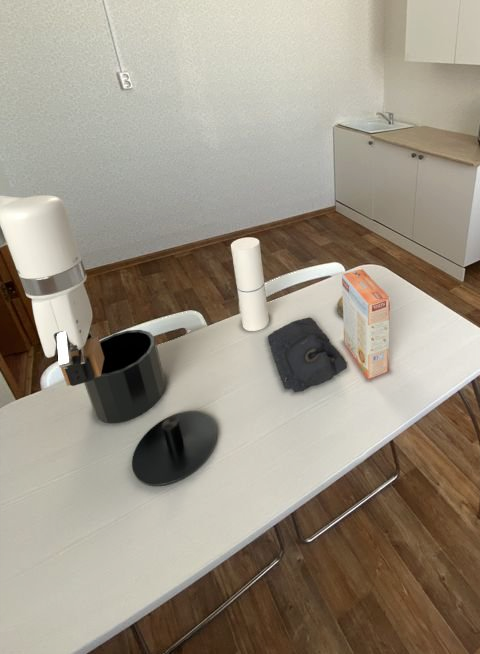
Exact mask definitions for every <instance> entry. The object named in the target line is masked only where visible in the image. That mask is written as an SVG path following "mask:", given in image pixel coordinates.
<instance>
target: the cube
mask: <svg viewBox="0 0 480 654" xmlns="http://www.w3.org/2000/svg"><path fill="white" fill-rule="evenodd" d="M99 339H100V338H99V336H95V337H91V339H87V340H86V343H85V345H84V346H83V347H84V352H85V356H86V359H88V358H89V360H90V363H91V366H92V369H93V373H94V378H96V377H99V376H101V372H102V367H103V362H104V355H103V352H102V348H101V345H100V342H99V341H100V340H99ZM72 345H73V344H70V346H72ZM76 355H77V356H79V354H78V350H76V351H72V352H71V356H76ZM60 370H61V372H62V375H63V378H64V381H65V383H66V386H71V385H70V382H69V379H68V377H67V374H66V371H65V369H64V368H63V367H61V368H60Z"/></svg>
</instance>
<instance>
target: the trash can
mask: <svg viewBox="0 0 480 654" xmlns="http://www.w3.org/2000/svg"><path fill="white" fill-rule="evenodd" d="M99 342H100V345H101V348H102V352H103V355H104V362H103V367H102V372H101V376H99V377H96V378H94V379H93V380H92V381H88V382H85V383H83V385H84V386H85V387H84V388H85V390H86V393H87V395H88V398H89V402H90V404H91V407H92V410H93V412H94V414H95V416H96V418H97V420H99V421H101V422H102V423H106V424H120V423H121V424H122V423H125V422H128V421H131V420H134V419H136V418H138V417H140V416H142V415H144V414H145V413H147V412H148V411H150V410H151V409H152V408H153V407H154V406H156V404H157V403H158V402H159V401H160V400H161V398H162V397H163V395H164V393H165V390H166V378H165V374H164V370H163V366H162V362H161V358H160V354H159V350H158V346H157V341H156V337H155V336H154V334H152V333H151V332H150V331H147V330H144V329H127V330H124V331H121V332H117V333H113V334H111V335H110V336H107V337H104V338H103V339H101V340H99Z"/></svg>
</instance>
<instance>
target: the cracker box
mask: <svg viewBox="0 0 480 654" xmlns="http://www.w3.org/2000/svg"><path fill="white" fill-rule="evenodd" d="M341 280H342V281H341V283H342V287H341V288H342V296H343V317H342V319H343V343H344V345H345V347H346V348H347V350H348V352H349V353H350V354H351V356H352V358H353V359H354V361H355V362H356V364H357V365H358V367H359V368H360V370H361V371H362V373H363V375H364V377H365V379H367V380H371V379H373V378H376V377H379V376H381V375H384V374H386V373H389V361H390V360H389V358H390V357H389V356H390V355H389V353H390V316H391V315H390V314H391V313H390V310H391V308H390V307H391V298H390V296H389V295H388V294H387V293H386V292H385V291H384V290H383V289H382V288H381V286H379V285H378V284H377V282H375V281H374V280H373V279H372V278H371V276H369V275H368V274H367V272H366V271H365V270H364V268H363V269H357V270H353V271H349V272H345V273H342V274H341Z"/></svg>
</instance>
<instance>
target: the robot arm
mask: <svg viewBox="0 0 480 654" xmlns="http://www.w3.org/2000/svg"><path fill="white" fill-rule="evenodd" d="M78 245H79V244H78V243H77V239H76V236H75V232H74V228H73V226H72V222H71V219H70V216H69V212H68V209H67V206H66V204H65V202H64V201H63V199H61V198H60V197H58V196H55V195H51V194H50V195H49V194H48V195H47V194H45V195H44V194H43V195H42V194H41V195H40V194H39V195H31V196H27V197H20V196H19V197H17V196H9V195H0V248H3V247H5V246H7V247H8V250H9V253H10V255H11V258H12V260H13V264H14V266H15V269H16V271H17V274H18V277H19V280H20V282H21V285H22V288H23V290H24V294H25V296H26V297H27V298H29V299H31V306H32V307H31V308H32V313H33V319H34V323H35V326H36V330H37V334H38V337H39V340H40V341H39V342H40V344H41V347H42V350H43V353H44V356H45V357H46V358H48V359H51V358H53V357H55V355H56V353H57V357H58V366H59V368H60V369H61V367H63V368H64V369H65V371H66V374H67V377H68V379H69V382H70V385H69V386H71V387H74V386H78V385H81V384H84V383H85V382H88V381H92V380H93V379H94V373H93V369H92V366H91V363H90V360H89V358H88V359H86V356H85V352H84V347H83V346H84V345H85V343H86V340H87V339H91V338H94V331H93V330H92V328H91V327H92V323H93V322H92V321H93V309H92V304H91V302H90V298H89V296H88V293H87V290H86V287H85V282H86V281H87V278H88V276H87V272H86V269H85V265H84V262H83V259H82V256H81V252H80V249H79V246H78ZM70 344H73V345H72V346H70ZM76 350H78V354H79V356H77V355H76V356H71V352H72V351H76Z"/></svg>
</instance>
